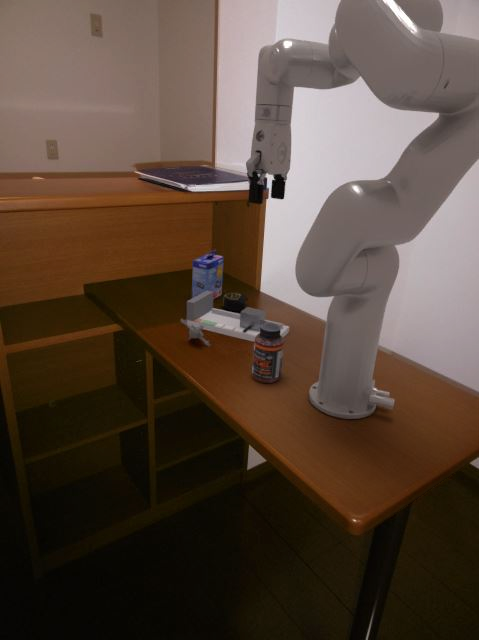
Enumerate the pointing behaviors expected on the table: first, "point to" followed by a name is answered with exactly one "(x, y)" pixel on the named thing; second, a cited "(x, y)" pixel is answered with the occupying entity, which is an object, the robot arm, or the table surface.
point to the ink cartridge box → (207, 274)
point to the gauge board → (220, 318)
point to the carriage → (252, 319)
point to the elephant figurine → (195, 332)
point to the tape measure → (234, 301)
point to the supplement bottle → (268, 354)
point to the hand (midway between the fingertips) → (266, 200)
